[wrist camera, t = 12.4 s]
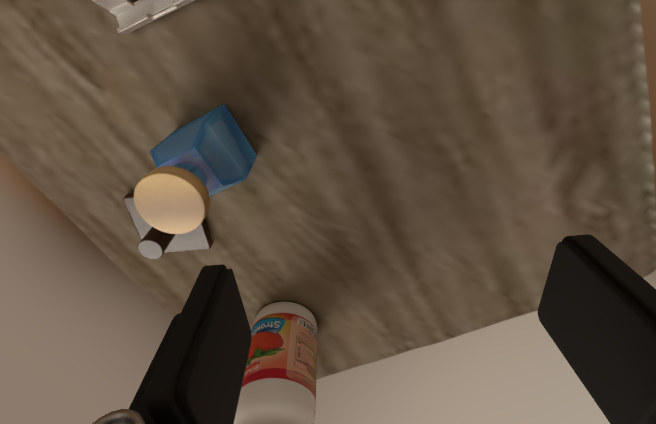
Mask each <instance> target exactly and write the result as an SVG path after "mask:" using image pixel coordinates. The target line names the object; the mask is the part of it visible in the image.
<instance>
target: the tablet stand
mask: <svg viewBox="0 0 656 424" xmlns="http://www.w3.org/2000/svg"><path fill="white" fill-rule="evenodd" d="M91 1H93V2H95V3H97V4H98V5H100V6H102V7H104V8H106V9H107V10H109V11H110V12H111V13H112V14H114V15H115V16H116V17H117V20H118V22H119V25H120V27H118V28H117V30H118V32H119V33H123V34H128V33H130V32H132V31H134V30H136V29H138V28H140V27H142V26H144V25H146V24H148V23H150V22H152V21H154V20H156V19H158V18H160V17H162V16H164V15H166V14H168V13H170V12H173V11H175V10H177V9H179V8H181V7H183V6H185V5H187V4H189V3H191V2H193V1H195V0H138V1H136V2H132V1H130V0H91Z"/></svg>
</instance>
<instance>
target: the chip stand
mask: <svg viewBox="0 0 656 424" xmlns="http://www.w3.org/2000/svg"><path fill="white" fill-rule="evenodd" d="M133 196H134V194H127V195H126V196H125V197H124V198H123V200H124V202H125V204H126V206H127V208H128V211H129V213H130V215H131V217H132V220H133V222H134V224H135V226H136V229H137V231H138V233H139V235H140V237H141V241H140V243H139V244H138V250H139V252H140V254H141V255H142V256H144V257H146V258H148V259H158V258H160V257H161V256H162V255H163V253H165V252H177V251H189V250H201V249H210V248H211V246H212V242H211V239H210V236H209V233H208V230H207V227H206V224H205V220H203V221H202V223H201V224H200V225H199V226H198V227H197V228H196V229H194V230H193V231H190V232H188V233H184V234H170V233H166V232H162V231H160V230H158V229H156V228H154V227H152V226H151V225H149V224H148V223H147V222H146V221H145V220H143V218H142V217H141V216H140V215H139V213H138V211H137V209H136V207H135V204H134V197H133Z"/></svg>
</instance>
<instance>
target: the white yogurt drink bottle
mask: <svg viewBox="0 0 656 424" xmlns="http://www.w3.org/2000/svg"><path fill="white" fill-rule="evenodd" d="M251 335H252V340H251V346H250V351H249V355H248V360H247V365H246V369H245V374H244V378H243V383H242V387H241V392H240V396H239V401H238V406H237V410H236V415H235V419H234V424H314V422H315V412H316V411H315V410H316V368H317V323H316V320H315V317H314V315H313V314H312V313H311V312H310V311H309V310H308V309H307V308H305V307H304V306H302V305H299V304H297V303H293V302H275V303H272V304H269V305H267V306H265V307H264V308H262V309H261V310H260V311H259V312H258V313H257V315H256V317H255V319H254V322H253V325H252V329H251Z"/></svg>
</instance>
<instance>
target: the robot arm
mask: <svg viewBox="0 0 656 424" xmlns="http://www.w3.org/2000/svg"><path fill="white" fill-rule="evenodd" d="M538 317H539V319H540V322H541V323H542V325H543V326H544V328H545V329H546V331H547V332H548V334H549V335H550V336H551V338H552V339H553V341H554V342H555V343H556V345H557V347H558V348H559V350H560V351H561V352H562V354H563V355H564V357H565V358H566V360H567V361H568V363H569V364H570V366H571V367H572V368H573V370H574V371H575V373H576V374H577V376H578V377H579V379H580V380H581V382H582V383H583V384H584V386H585V387H586V389H587V390H588V391H589V393H590V395H591V396H592V398H593V399H594V400H595V402H596V403H597V405H598V406H599V408H600V409H601V411H602V412H603V413H604V415H605V416H606V418H607V419H608V421H609V422H610V424H656V289H654V287H652V286H651V285H650V284H649V283H648V282H647V281H645V280H644V279H643V278H642V277H641V276H639V275H638V274H637V273H636V272H635V271H634V270H632V269H631V268H630V267H629V266H628V265H626V264H625V263H624V262H623V261H622V260H621V259H619V258H618V257H617V256H616V255H615V254H614V253H612V252H611V251H610V250H609V249H608V248H606V247H605V246H604V245H603V244H602V243H601V242H599V241H598V240H597V239H596V238H595V237H593V236H591V235H577V236H567V237H565V238H564V239H563V240H562V242H559V243H558V244H557V246H556V250H555V253H554V257H553V260H552V264H551V267H550V270H549V274H548V277H547V281H546V284H545V287H544V291H543V294H542V298H541V301H540V304H539V308H538ZM251 340H252V335H251V329H250V326H249V323H248V320H247V316H246V313H245V310H244V306H243V303H242V300H241V297H240V293H239V290H238V287H237V283H236V280H235V277H234V274H233V271H232V269H227V268H226V266H225V265H212V266H204V267H203V268H202V270H201V272H200V274H199V276H198V278H197V280H196V283H195V285H194V287H193V289H192V291H191V293H190V295H189V297H188V300H187V302H186V304H185V306H184V308H183V310H182V312H181V314H177V315H176V316H175V317H174V318H173V320H172V322H171V324H170V326H169V328H168V330H167V332H166V334H165V336H164V338H163V340H162V342H161V344H160V346H159V348H158V350H157V352H156V354H155V357H154V358H153V360H152V362H151V364H150V367H149V369H148V371H147V373H146V375H145V377H144V379H143V381H142V383H141V385H140V387H139V389H138V391H137V393H136V396H135V397H134V400H133V402H132V403H131V405H130V407H129V409H121V410H117V411H113V412H110V413H108V414H106V415H105V416H103V417H101V418H99V419H98V420H96V421H95V422H94V423H92V424H234V419H235V415H236V410H237V406H238V401H239V396H240V392H241V387H242V383H243V378H244V374H245V369H246V365H247V360H248V355H249V351H250V346H251Z"/></svg>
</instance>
